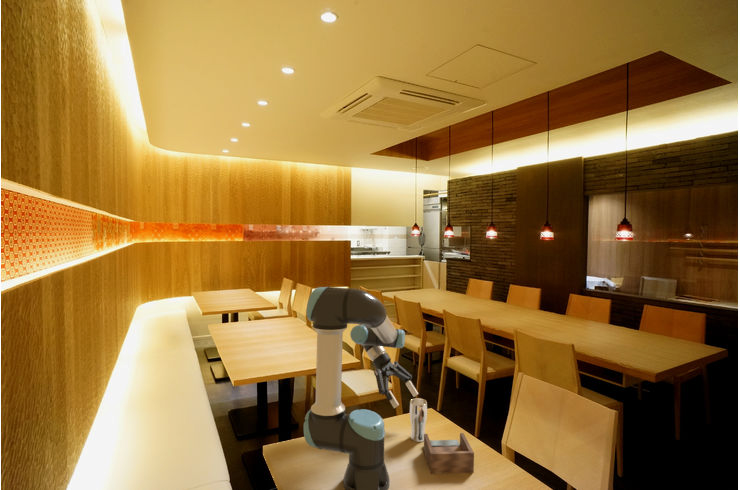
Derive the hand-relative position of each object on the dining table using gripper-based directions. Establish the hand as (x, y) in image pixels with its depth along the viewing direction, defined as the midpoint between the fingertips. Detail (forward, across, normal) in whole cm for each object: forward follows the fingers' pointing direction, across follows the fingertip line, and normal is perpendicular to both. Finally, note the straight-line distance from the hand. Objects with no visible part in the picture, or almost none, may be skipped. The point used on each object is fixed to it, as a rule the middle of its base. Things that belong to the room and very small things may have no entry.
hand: (406, 400), depth 164 cm
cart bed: (+25, +6, +7) cm, 26 cm away
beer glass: (+14, +1, -4) cm, 15 cm away
